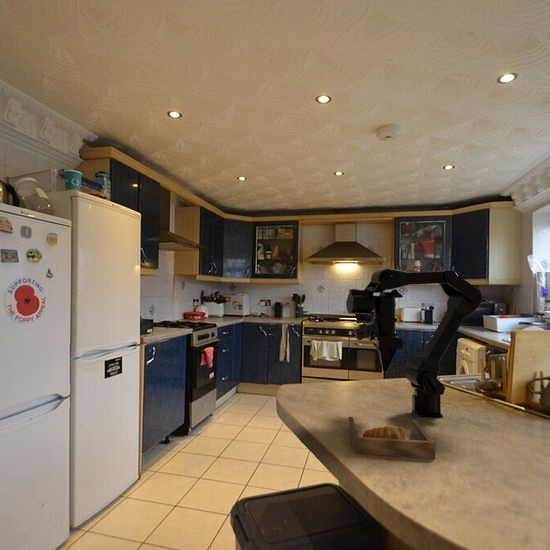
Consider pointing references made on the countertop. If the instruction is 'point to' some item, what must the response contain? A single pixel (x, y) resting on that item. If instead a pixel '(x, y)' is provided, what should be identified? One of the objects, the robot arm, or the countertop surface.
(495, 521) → the countertop surface
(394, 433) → the pastry
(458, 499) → the countertop surface
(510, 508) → the countertop surface
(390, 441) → the box
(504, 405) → the countertop surface
